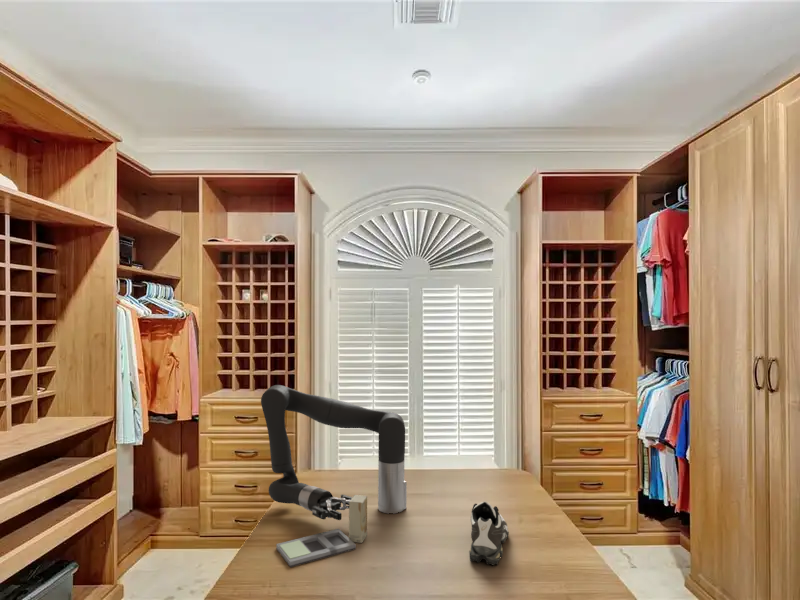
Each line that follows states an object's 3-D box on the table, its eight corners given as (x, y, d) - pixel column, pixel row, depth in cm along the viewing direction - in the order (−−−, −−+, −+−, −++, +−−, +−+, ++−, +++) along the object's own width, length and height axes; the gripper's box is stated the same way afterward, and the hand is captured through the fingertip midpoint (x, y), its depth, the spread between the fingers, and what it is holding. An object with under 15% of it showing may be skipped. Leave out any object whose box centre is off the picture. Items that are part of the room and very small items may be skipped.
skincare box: (362, 543, 152) (362, 503, 152) (348, 542, 153) (348, 501, 153) (367, 534, 158) (367, 495, 158) (354, 532, 159) (354, 494, 159)
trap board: (338, 533, 158) (338, 527, 158) (355, 549, 148) (355, 543, 148) (276, 549, 148) (276, 543, 148) (290, 567, 138) (290, 561, 138)
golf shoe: (507, 524, 166) (507, 481, 166) (511, 571, 137) (512, 519, 137) (471, 521, 168) (471, 479, 168) (468, 567, 139) (469, 516, 139)
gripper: (298, 494, 161) (334, 507, 151) (331, 482, 173) (366, 493, 162) (298, 517, 161) (334, 532, 151) (331, 504, 173) (365, 517, 162)
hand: (350, 512), depth 157 cm, fingers open, 8 cm apart
